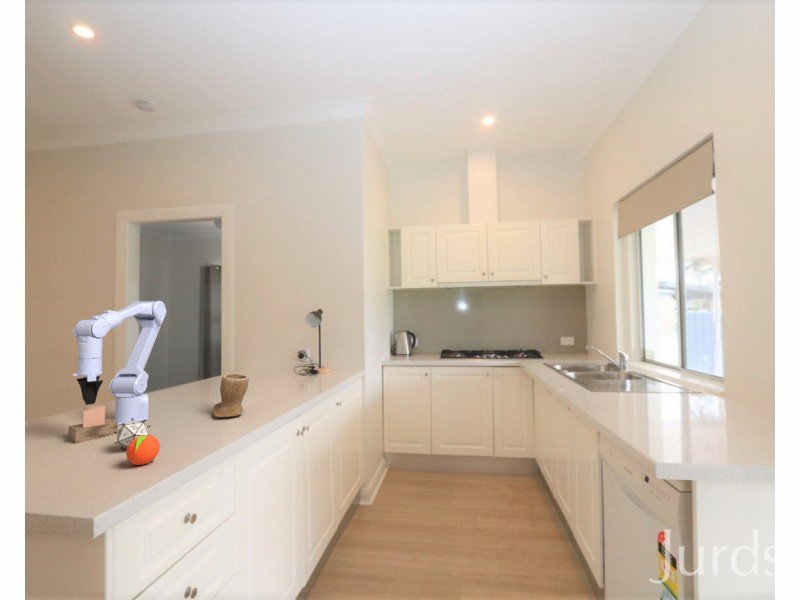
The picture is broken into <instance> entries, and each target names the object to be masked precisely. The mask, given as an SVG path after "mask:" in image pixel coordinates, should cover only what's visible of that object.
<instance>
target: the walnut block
mask: <svg viewBox="0 0 800 600" xmlns="http://www.w3.org/2000/svg"><path fill="white" fill-rule="evenodd" d="M118 426H119V425H118V423H117V422H115V421H114V420H113V419H111V418H105V424H104V425H98V426H91V427H85V428H83V423H78V424H74V425H69V426H68V440H70V441H71V442H72V443H74V444H75V445H76V444H81V443H85V442H89V441H93V439H94V440H99V439H102V438H101V437H103V438H106V437H105V436H108V437H110V436H109V435H112V436H114V435H113V434H117V433H114V432H118V430H119V429H118ZM98 438H99V439H98Z"/></svg>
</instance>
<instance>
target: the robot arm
mask: <svg viewBox="0 0 800 600" xmlns="http://www.w3.org/2000/svg"><path fill="white" fill-rule="evenodd" d="M103 312H104V313H101V314H99V315H94V316H91V318H90V319H82V320H79V321H78V322H77V323H76V324H75V326H74V328H73V329H72V333H73V335H74V337H76V338H75V339H76V343H77V345H78V346H77V372H74V373H72V374H71V375H72V377H80V378H76V381H77V384H78V385H79V387H80V388H79V389H80V390H81V396H82V401H84V404H85V405H86V406H87V405H89V406H90V405H94V404H95V403H96V400H97V396H98V393H99V389H100V388H101V386H102V384H103V382H104V380H102V379H101V377H100V375H103V370H102V369H103V365H102V363H103V338H104V337H106V336H107V335H108V332H110V331H112V330H114V329H116V328H118V327H120V326H121V325H122V324H123V322H124V321H125V320H127V319H129V318H130V319H131V317H132V318H134V319H135V321H136V322H137V324H138V325H139V326H141V328H142V329H141V331H140V333H139V335H138V337H137V341H136V342H135V345H134V347H133V349H132V352H131V355H130V357H129V360H128V361H127V363H126V366H125V367H123V368H122V369H120V370H118V371H117V372H116V374H115V376H114V377H113V378H112V379H111V381H110V382H109V387H108V389H109V392H110V393H111V394H112V395H113V397H114V398H115V402H114V403H115V405H114V407H115V409H114V410H115V411H114V418H113V419H112V420H114V421H115V422H117V423H118V426H119V425H122V423H124V425H125V424H127V423H128V422H130V421H132V420H131V419H132V418H133V419H134V421H142V422H143V420H145V421H148V420H149V402H150V400H149V394H148V393H144V392H145V391H146V390H147V388H148V387H147V386H148V380H149V377H150V375H149V374H148V372H146V371H145V368H146V365H147V363H148V360H149V357H150V354H151V352H152V350H153V348H154V344H155V342H156V340H157V337H158V335H159V333H160V329H161V328H162V324H163V322H164V319H165V317H166V314H167V309H166V305H165V303H164V302H163V301H161V300H155V301H153V300H152V301H150V300H149V301H140V300H137V301H134V302H130V304H129V305H127V306H125V307H123V308H121V309H120V310H118V311H116V310H111V309H106V310H104V311H103Z"/></svg>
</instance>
